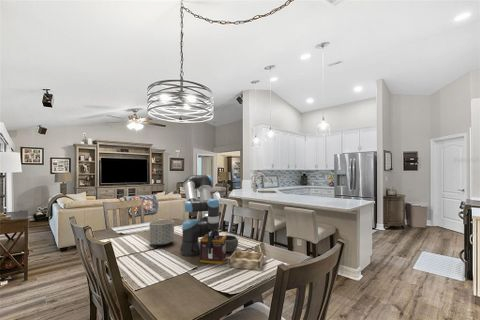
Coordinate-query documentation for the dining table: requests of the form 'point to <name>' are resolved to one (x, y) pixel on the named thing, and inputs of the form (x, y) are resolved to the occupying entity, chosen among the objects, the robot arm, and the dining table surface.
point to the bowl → (231, 243)
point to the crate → (246, 260)
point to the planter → (161, 232)
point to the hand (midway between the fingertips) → (213, 255)
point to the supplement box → (217, 246)
